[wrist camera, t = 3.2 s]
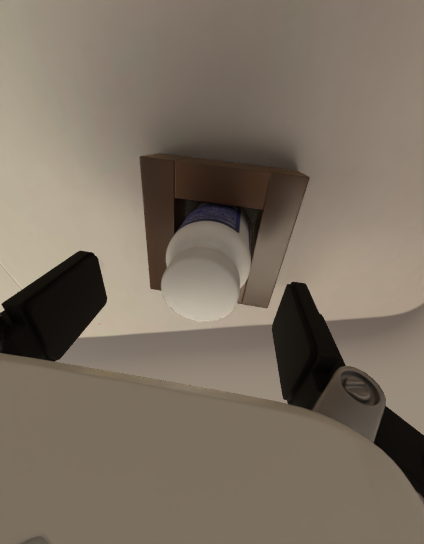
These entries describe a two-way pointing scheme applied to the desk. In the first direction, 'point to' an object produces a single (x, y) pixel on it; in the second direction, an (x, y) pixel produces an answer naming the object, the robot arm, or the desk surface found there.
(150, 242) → the holder
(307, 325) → the robot arm
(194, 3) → the desk surface
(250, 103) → the desk surface
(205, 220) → the pill bottle
